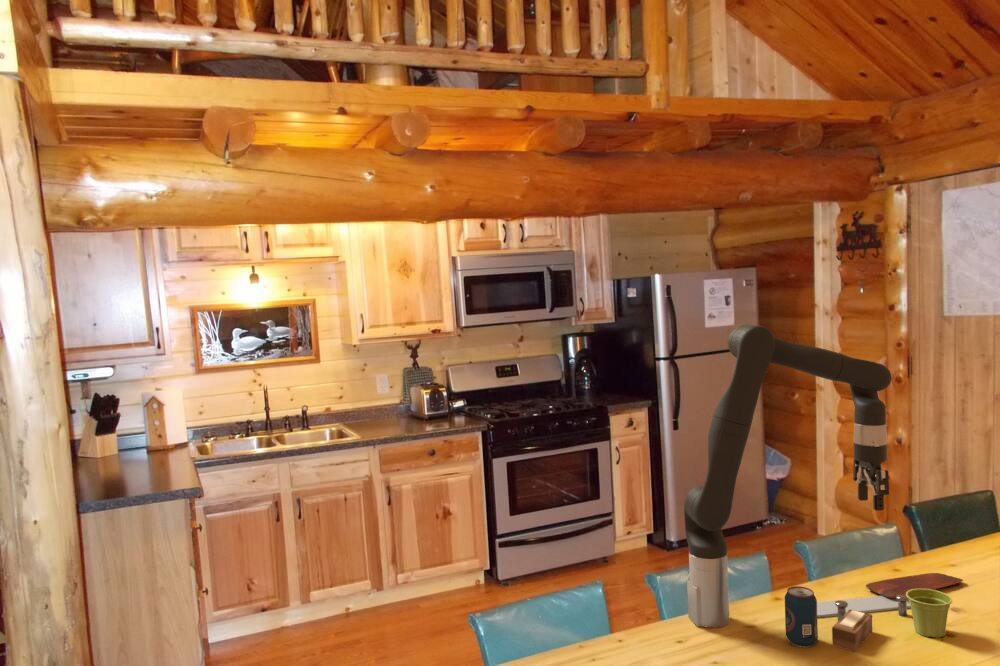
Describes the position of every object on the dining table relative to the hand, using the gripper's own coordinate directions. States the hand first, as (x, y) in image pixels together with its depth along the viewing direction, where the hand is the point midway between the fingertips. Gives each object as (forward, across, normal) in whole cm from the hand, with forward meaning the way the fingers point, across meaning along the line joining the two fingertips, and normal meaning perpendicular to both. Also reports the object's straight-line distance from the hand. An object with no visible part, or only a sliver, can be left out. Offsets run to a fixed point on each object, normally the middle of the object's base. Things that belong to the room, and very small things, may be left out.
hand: (870, 505), depth 186 cm
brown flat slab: (+26, -11, +17) cm, 33 cm away
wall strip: (+27, -1, -3) cm, 27 cm away
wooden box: (+27, +16, -11) cm, 33 cm away
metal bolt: (+26, +4, +6) cm, 27 cm away
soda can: (+27, +16, -23) cm, 39 cm away
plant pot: (+27, +14, +7) cm, 31 cm away
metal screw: (+27, +7, -10) cm, 29 cm away
